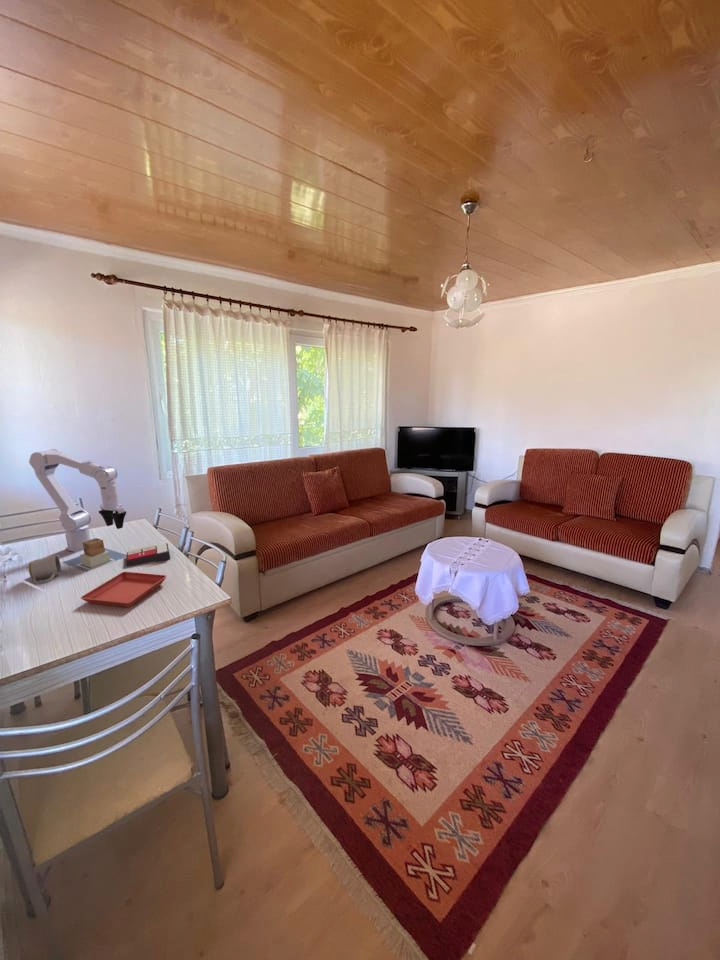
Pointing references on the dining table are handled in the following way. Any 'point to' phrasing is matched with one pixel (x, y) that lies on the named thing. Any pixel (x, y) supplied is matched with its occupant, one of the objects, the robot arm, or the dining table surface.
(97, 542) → the walnut block
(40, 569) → the ceramic mug
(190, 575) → the dining table surface
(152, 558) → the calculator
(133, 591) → the plant saucer
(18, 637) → the dining table surface
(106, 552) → the sage base block
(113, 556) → the board
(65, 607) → the dining table surface
